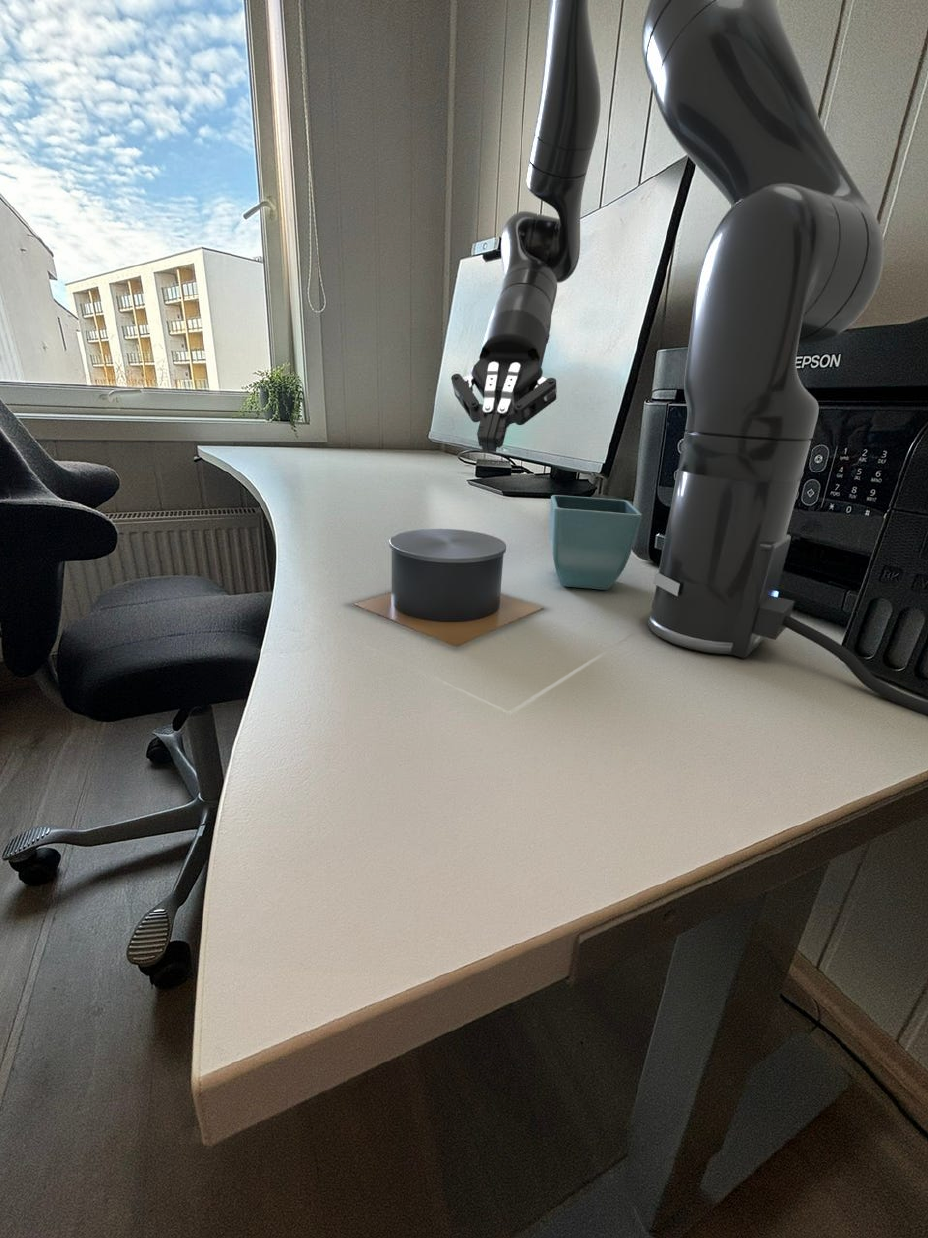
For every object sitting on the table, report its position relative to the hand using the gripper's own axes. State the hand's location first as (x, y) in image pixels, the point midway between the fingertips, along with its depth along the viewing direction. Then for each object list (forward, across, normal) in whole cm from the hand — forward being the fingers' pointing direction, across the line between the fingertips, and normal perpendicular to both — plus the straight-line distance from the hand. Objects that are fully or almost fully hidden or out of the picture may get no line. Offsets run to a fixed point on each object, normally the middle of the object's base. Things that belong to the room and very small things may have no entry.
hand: (488, 446), depth 63 cm
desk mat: (+20, 0, 0) cm, 20 cm away
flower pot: (+11, +12, +9) cm, 19 cm away
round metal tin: (+19, 0, 0) cm, 19 cm away
